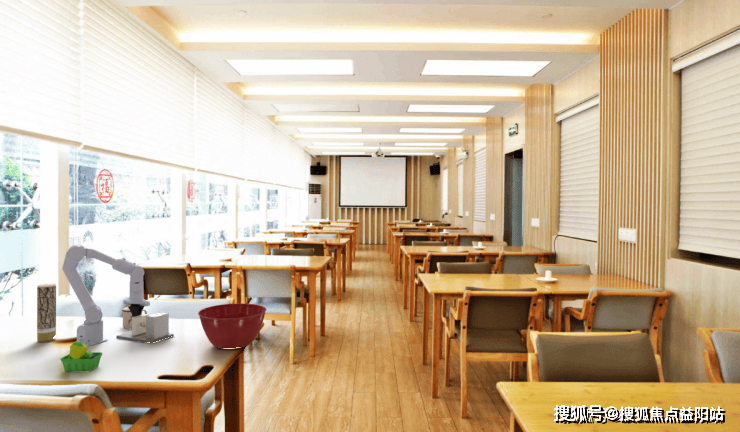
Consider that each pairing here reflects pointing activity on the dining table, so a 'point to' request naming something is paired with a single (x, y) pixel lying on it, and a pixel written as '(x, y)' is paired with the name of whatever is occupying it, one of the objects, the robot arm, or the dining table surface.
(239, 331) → the mixing bowl
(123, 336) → the base plate
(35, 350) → the dining table surface
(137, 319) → the collar
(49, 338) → the paper tube
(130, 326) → the teacup with lid
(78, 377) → the dining table surface
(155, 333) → the pipe stand
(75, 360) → the fruit basket
